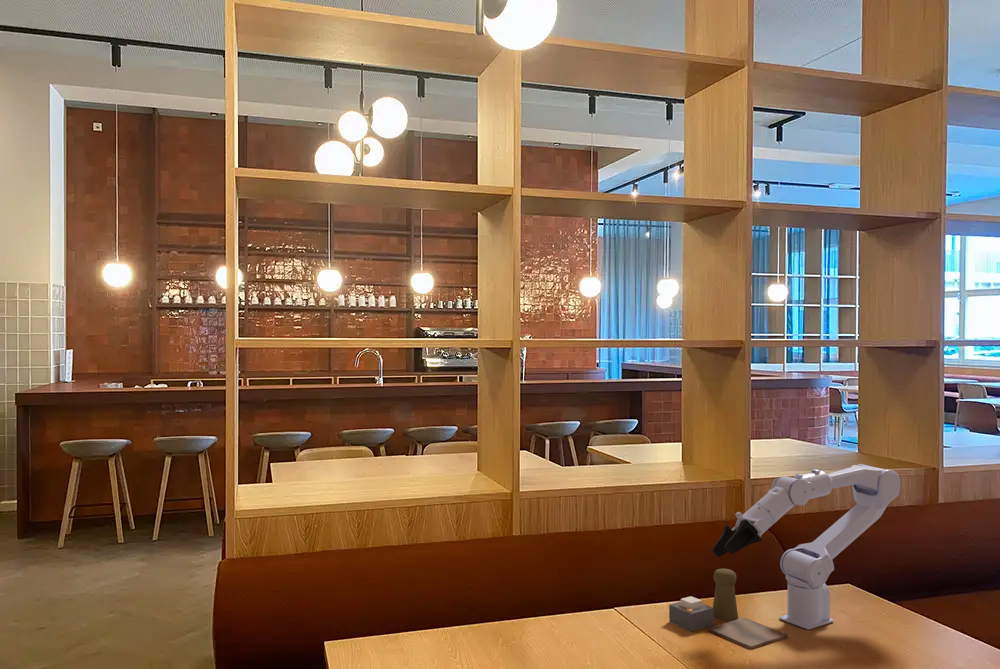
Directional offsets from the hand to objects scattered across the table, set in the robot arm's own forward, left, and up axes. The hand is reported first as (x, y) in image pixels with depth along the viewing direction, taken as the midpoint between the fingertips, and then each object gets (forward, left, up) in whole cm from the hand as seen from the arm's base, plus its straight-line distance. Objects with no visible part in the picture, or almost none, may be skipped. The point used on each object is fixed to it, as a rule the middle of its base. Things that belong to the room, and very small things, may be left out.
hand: (721, 552), depth 170 cm
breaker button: (+1, -8, -16) cm, 18 cm away
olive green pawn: (-9, -7, -19) cm, 22 cm away
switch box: (+1, -8, -18) cm, 20 cm away
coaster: (-5, +3, -18) cm, 19 cm away
